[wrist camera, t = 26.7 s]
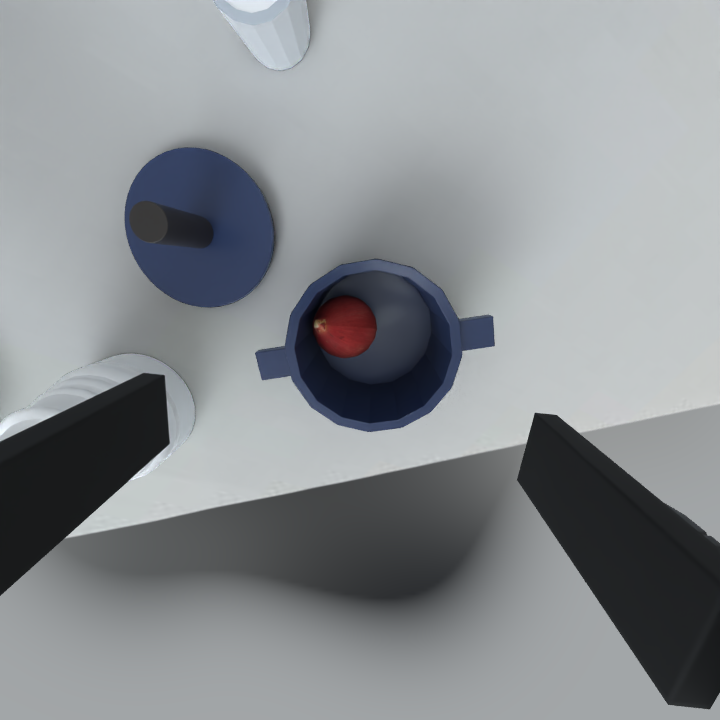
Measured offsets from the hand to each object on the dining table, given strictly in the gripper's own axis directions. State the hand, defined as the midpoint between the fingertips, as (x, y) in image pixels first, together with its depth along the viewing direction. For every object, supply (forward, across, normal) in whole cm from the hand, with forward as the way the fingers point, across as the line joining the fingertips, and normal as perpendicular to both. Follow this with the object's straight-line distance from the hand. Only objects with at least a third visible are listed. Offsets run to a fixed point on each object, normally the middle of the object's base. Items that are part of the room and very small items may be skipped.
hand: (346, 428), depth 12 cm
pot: (+24, +1, -1) cm, 24 cm away
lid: (+24, -17, +7) cm, 30 cm away
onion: (+23, +1, -1) cm, 23 cm away
